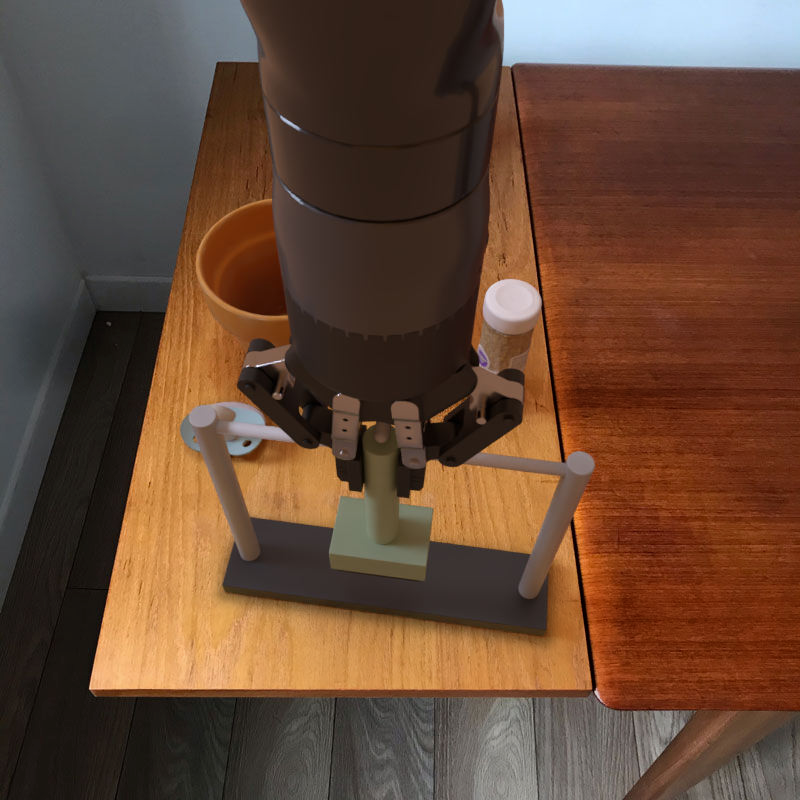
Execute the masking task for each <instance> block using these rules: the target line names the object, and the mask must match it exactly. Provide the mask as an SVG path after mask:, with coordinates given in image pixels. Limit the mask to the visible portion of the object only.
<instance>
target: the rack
mask: <svg viewBox="0 0 800 800" xmlns="http://www.w3.org/2000/svg"><path fill="white" fill-rule="evenodd" d="M209 405H210V404H200V405H196V406H195V407H194V408H192V410H190V412H189V413H190V415H189V421H190V424H191V426H192V429H193V432H194V434H195V439H196V443H198V445H199V448H200V450H201V455H202V458H203V460H204V463H205V466H206V469H207V471H208V474H209V477H210V479H211V481H212V485H213V487H214V489H215V492H216V495H217V497H218V500H219V503H220V505H221V508H222V511H223V514H224V516H225V519H226V521H227V524H228V526H229V529H230V532H231V535H232V537H233V539H234V541H233V544H232V547H231V552H230V555H229V559H228V563H227V566H226V570H225V572H224V576H223V580H222V585H221V586H222V588H223V590H224V592H225V593H228V594H235V595H244V596H250V597H258V598H265V599H272V600H279V601H286V602H294V603H300V604H308V605H315V606H322V607H329V608H337V609H345V610H351V611H357V612H366V613H372V614H379V615H386V616H387V615H388V616H394V617H402V618H408V619H415V620H423V621H430V622H437V623H445V624H452V625H460V626H468V627H474V628H481V629H488V630H495V631H503V632H508V633H509V632H510V633H517V634H523V635H524V634H525V635H531V636H539V637H544V636H545V634H546V633H547V630H548V604H549V602H548V599H549V598H548V597H549V571H550V569H551V567H552V564H553V562H554V561H555V558H556V555H557V553H558V551H559V549H560V546H561V544H562V542H563V540H564V538H565V536H566V533H567V531H568V529H569V527H570V525H571V522H572V520H573V518H574V515H575V513H576V511H577V509H578V507H579V505H580V502H581V500H582V498H583V495H584V494H585V491H586V489H587V487H588V484H589V483H590V480H591V478H592V476H593V473H594V471H595V469H596V463H595V462H596V461H595V460H594V458H593V457H592V456H591V455H590V454H589V453H587V452H586V451H582V450H578V451H573V452H571V453H570V454H569V455H568V456H567V459H566V461H565V462H561V461H554V460H553V461H552V460H547V459H546V460H545V459H538V458H537V459H536V458H529V457H522V456H513V455H504V454H498V453H488V452H482V451H481V452H479V453H478V454H476V455H475V456H474V457H472V458H471V459H469V460H468V461H466V462H465V463H463V464H462V465H467V466H476V467H483V468H492V469H498V470H499V469H500V470H507V471H514V472H515V471H516V472H523V473H530V474H540V475H546V476H547V475H548V476H556V477H559V479H558V482H557V484H556V487H555V490H554V492H553V495H552V498H551V499H550V502H549V505H548V508H547V510H546V512H545V516H544V518H543V520H542V523H541V526H540V528H539V531H538V533H537V537H536V539H535V542H534V544H533V547H532V549H531V552H530V553H525V552H519V551H510V550H504V549H503V550H502V549H497V548H496V549H495V548H487V547H481V546H473V545H465V544H457V543H451V542H444V541H443V542H442V541H435V540H430V544H429V552H428V560H427V568H426V577H425V581H420V582H416V581H408V580H401V579H394V578H386V577H379V576H371V575H364V574H356V573H349V572H342V571H337V569H332V568H331V564H330V557H329V550H330V545H331V540H332V535H333V530H334V527H329V526H323V525H322V526H321V525H313V524H305V523H298V522H291V521H284V520H277V519H276V520H275V519H270V518H269V519H268V518H262V517H261V518H260V517H254V516H253V517H252V516H251V515H250V512H249V510H248V507H247V503H246V501H245V497H244V495H243V494H244V493H243V491H242V487H241V485H240V481H239V478H238V476H237V472H236V469H235V466H234V463H233V460H232V457H231V455H230V454H229V450H228V447H227V444H226V441H225V438H224V435H223V434H228V435H236V436H244V437H252V438H260V439H262V440H269V441H277V442H285V443H293V444H296V443H295V442H294V441H293V440H292V439H291V438H290V437H289V436H288V435H287V434H286V433H285V432H284V431H283V430H282V429H280V428H279V427H278V426H272V425H257V424H249V423H241V422H232V421H224V420H219V419H218V416H217V413H216V411H215V409H214V408H213V407H211V406H209ZM319 447H324V448H328V447H327V446H325V445H322V444H319ZM433 461H436V462H439V461H438V459H434V460H433Z"/></svg>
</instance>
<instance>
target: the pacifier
mask: <svg viewBox="0 0 800 800" xmlns="http://www.w3.org/2000/svg"><path fill="white" fill-rule="evenodd" d="M208 405H209V406H211V407H213V408H214V409H215V411H216V413H217V416H218V419H219V420H224V421H232V422H241V423H249V424H257V425H265V426H267V419H266V416H265V414H264V413H263V412H262V411H261V410H260V409H259V408H256V407H255V406H253V405H251V404H248V403H245V402H239V401H221V402H215V403H212V404H208ZM189 415H190V412H189V413H188V414H186V416H185V417H184V418H183V419H182V420H181V422H180V426H179V433H180V436H181V439H182V441H183V442H184V444H185V445H186V446H187V447H188V448H189V449H191V450H193V451H194V452H197V453H201V450H200V448H199V445H198V442H196V441H194V439H196V437H195V434H194V432H193V429H192V426H191V424H190V421H189ZM223 435H224V438H225V441H226V444H227V447H228V450H229V454H230V456H232V457H233V456H234V457H243V456H246V455H249V454H250V453H252V452H254V451H255V450H256V449H257V448H258V447H259V446H260V444H261V443H262V441H263V439H260V438H252V437H244V436H236V435H228V434H223ZM248 442H251V443H250V445H248V446H245V445H247V443H248ZM201 454H202V453H201Z"/></svg>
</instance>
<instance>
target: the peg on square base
mask: <svg viewBox="0 0 800 800" xmlns="http://www.w3.org/2000/svg"><path fill="white" fill-rule="evenodd" d="M362 448H363V471H364V485H363V491H364V492H363V493H364V498H362V497H361V498H359V497H351V496H345V495H340V496H339V501H338V506H337V510H336V515H335V521H334V524H333V528H334V530H333V535H332V540H331V545H330V550H329V557H330V564H331V568H332V569H337V571H342V572H349V573H356V574H364V575H371V576H379V577H386V578H394V579H401V580H408V581H416V582H420V581H425V577H426V568H427V560H428V552H429V544H430V541H431V535H432V527H433V519H434V509H435V508H434V507H432V506H431V507H430V506H423V505H416V504H408V503H400V497H397V467H398V460H399V454H400V448H398V446H397V439H396V431H395V426H394V425H390V424H387V423H383V422H378V421H377V422H375V424H372V425H371V426H369V427H367V430H366V431H365V432H364V434H363V437H362Z"/></svg>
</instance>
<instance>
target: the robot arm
mask: <svg viewBox="0 0 800 800" xmlns="http://www.w3.org/2000/svg"><path fill="white" fill-rule="evenodd" d="M239 2H240V4H241V7H242V9H243V11H244V14H245V15H246V17H247V19H248V21H249V23H250V25H251V28H252V30H253V33H254V36H255V38H256V49H257V62H258V70H259V79H260V86H261V93H262V100H263V109H264V114H265V120H266V129H267V135H268V140H269V141H268V142H269V148H270V156H271V166H272V185H271V186H272V187H271V199H272V211H273V222H274V230H275V236H276V243H277V249H278V256H279V262H280V269H281V275H282V282H283V288H284V294H285V301H286V307H287V314H288V320H289V327H290V333H291V336H290V338H289V343H290V344H289V345H284V346H280V347H275V346H274V345H273V344H272V343H271V342H270V341H268V340H265V339H260V338H257V339H253V340H252V341H251V342H250V344H249V348H248V351H247V354H246V353H245V357H244V360H243V363H242V367H241V369H240V373H239V376H238V379H237V383H236V388H237V389H238V391H240V392H241V393H242V394H243V395H244V396H245V397H246V398H247V399H248V400H250V401H251V403H253V404H254V405H255V406H256V407H257V409H258V410H259V411H260V412H261V413H262V414H263V415H265V416H266V417H267V418H269V419H270V420H271V421H272V422H273V423H274V424H275V425H276V427H279V428H280V429H282V430H283V431H284V432H285V433H286V434H287V435H288V436H289V437H290V438H291V439H292V440H293V441H294V442H295V443H294V444H296V445H297V446H299V448H303V449H306V450H315V449H318V448H319V447H320V446H319V444H322V445H325V446H327V447H326V448H329V449H331V454H332V456H333V457H334V461H335V470H336V477H337V478H338V480H339V481H340V482H345V483H348V484H347V485H348V491H349V492H355V493H363V491H364V471H363V448H362V437H363V434H364V432H365V431H366V430H367V429H368V425H367V424H363V423H366V422H367V423H370V422H371V423H372V422H375V423H376V422H377V421H378V422H383V423H387V424H390V425H391V426H393V427H394V428H395V431H396V439H397V446H398V448H400V454H399V460H398V467H397V497H399V498H402V499H411V491H415V492H421V491H422V490H423V488H424V486H425V479H426V473H427V472H426V471H427V466H428V465H427V463H428V462H430V461H435V460H434V459H438V461H437V462H439V463H440V465H441V466H444V467H448V468H458V467H460V466H462V465H464V464H463V463H465V462H466V461H468V460H469V459H471V458H472V457H474V456H475V455H476V454H478V453H479V452H482V451H484V450H485V449H487V448H488V447H490V446H491V445H493V444H494V443H495V442H496V441H498V440H500V439H501V438H503V437H504V436H505V435H507V434H508V433H511V431H512V430H514V429H516V428H517V427H519V426H521V424H522V423H523V419H524V416H523V415H524V407H525V380H526V375H525V372H524V373H523V372H522V371H520V370H518V369H514V368H508V369H504V370H502V371H501V372H499V373H498V374H497V375H496V374H494V373H492V372H490V371H488V370H486V369H483V368H481V367H479V363H480V361H479V356H478V353H477V350H476V348H475V347H474V346H473V343H472V342H473V341H472V340H473V335H474V329H475V322H476V315H477V308H478V301H479V296H480V295H479V294H480V287H481V280H482V279H481V278H482V275H483V274H482V273H483V267H484V261H485V260H484V259H485V252H486V249H487V247H488V244H489V239H490V238H489V237H490V235H489V234H490V233H489V232H490V231H489V227H490V226H489V225H490V214H491V190H490V166H491V158H492V157H491V156H492V151H493V150H492V149H493V144H494V135H495V128H496V122H497V114H498V113H497V112H498V106H499V99H500V91H501V81H502V75H503V74H502V73H503V63H504V50H505V8H504V3H503V0H239ZM460 401H462V402H460ZM459 402H460V403H459ZM458 403H459V404H458ZM456 404H458V405H456ZM455 405H456V407H453V406H455ZM451 407H453V409H452V410H450V411H449V412H448V413H447V414H445V415H444V416H443V418H442V419H443V420H442V421H438V422H433V421H432V419H433V418H434V417H436V416H438V415H439V414H441V413H443V412H444V411H446V410H448V409H449V408H451ZM300 408H301V409H302V412H301V411H300Z"/></svg>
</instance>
